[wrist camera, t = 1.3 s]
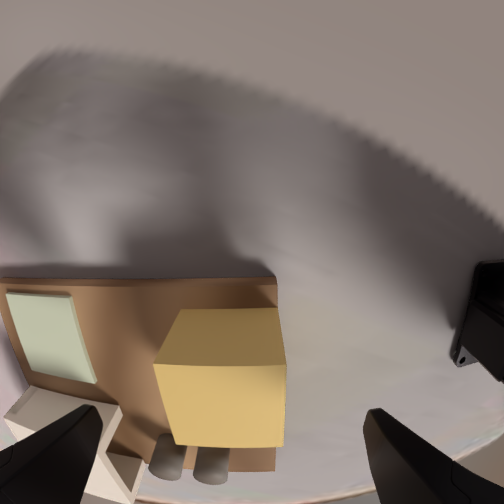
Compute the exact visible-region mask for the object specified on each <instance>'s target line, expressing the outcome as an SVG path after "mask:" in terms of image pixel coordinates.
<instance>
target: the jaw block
mask: <svg viewBox="0 0 504 504" xmlns="http://www.w3.org/2000/svg"><path fill="white" fill-rule="evenodd" d="M153 367H154V371H155V375H156V379H157V382H158V386H159V390H160V394H161V397H162V401H163V404H164V408H165V411H166V414H167V418H168V421H169V424H170V427H171V431H172V434H173V437H174V440H175V443H176V444H177V445H188V446H201V447H221V448H267V447H283V439H284V419H285V396H286V367H287V364H286V358H285V351H284V345H283V339H282V332H281V326H280V320H279V313H278V308H247V309H181V310H180V312H179V314H178V316H177V318H176V319H175V321H174V323H173V325H172V327H171V329H170V331H169V333H168V335H167V337H166V339H165V341H164V343H163V345H162V346H161V348H160V350H159V352H158V354H157V356H156V358H155V360H154V362H153Z"/></svg>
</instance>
